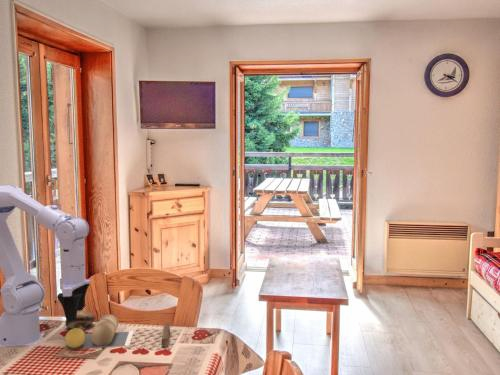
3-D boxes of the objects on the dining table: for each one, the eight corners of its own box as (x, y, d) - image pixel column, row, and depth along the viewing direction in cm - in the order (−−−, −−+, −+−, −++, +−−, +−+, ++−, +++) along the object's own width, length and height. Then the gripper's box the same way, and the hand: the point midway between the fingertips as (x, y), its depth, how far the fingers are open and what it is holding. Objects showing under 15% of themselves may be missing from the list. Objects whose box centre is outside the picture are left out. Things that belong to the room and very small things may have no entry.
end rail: (161, 347, 122) (161, 339, 121) (164, 330, 133) (164, 322, 133) (167, 347, 122) (167, 338, 122) (169, 330, 134) (169, 322, 133)
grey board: (66, 351, 119) (66, 348, 119) (76, 336, 129) (76, 333, 129) (129, 347, 121) (129, 345, 121) (133, 333, 131) (133, 331, 131)
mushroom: (86, 326, 128) (83, 305, 131) (61, 336, 129) (58, 315, 132) (100, 329, 135) (97, 309, 138) (76, 339, 136) (74, 319, 139)
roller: (91, 346, 121) (91, 326, 120) (98, 333, 129) (97, 314, 129) (113, 345, 121) (112, 325, 121) (118, 332, 130) (118, 313, 130)
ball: (63, 351, 118) (62, 332, 117) (68, 343, 123) (67, 325, 122) (83, 350, 118) (82, 331, 118) (87, 342, 123) (87, 324, 123)
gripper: (83, 271, 112) (84, 324, 113) (95, 257, 127) (96, 305, 128) (53, 271, 111) (54, 325, 112) (68, 258, 126) (69, 306, 127)
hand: (74, 315), depth 120 cm, fingers open, 7 cm apart
